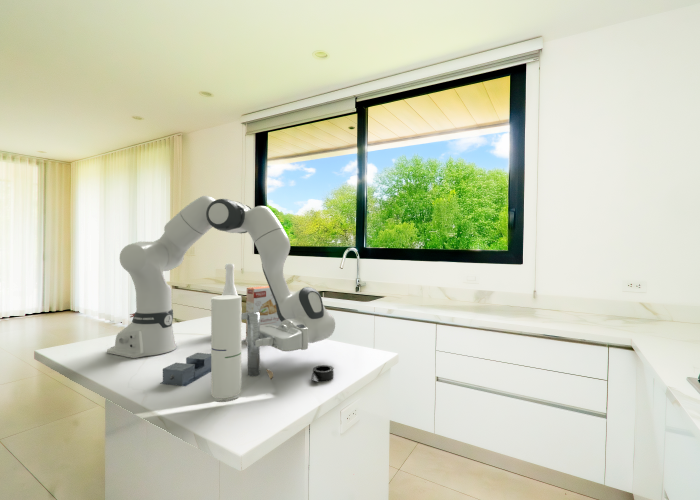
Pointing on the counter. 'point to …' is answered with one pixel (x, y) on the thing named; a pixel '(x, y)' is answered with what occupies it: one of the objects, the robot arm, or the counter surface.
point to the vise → (187, 370)
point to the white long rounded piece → (230, 283)
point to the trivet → (270, 373)
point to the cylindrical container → (225, 346)
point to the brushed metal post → (252, 341)
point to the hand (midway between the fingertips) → (250, 341)
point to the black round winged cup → (322, 373)
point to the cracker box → (262, 305)
